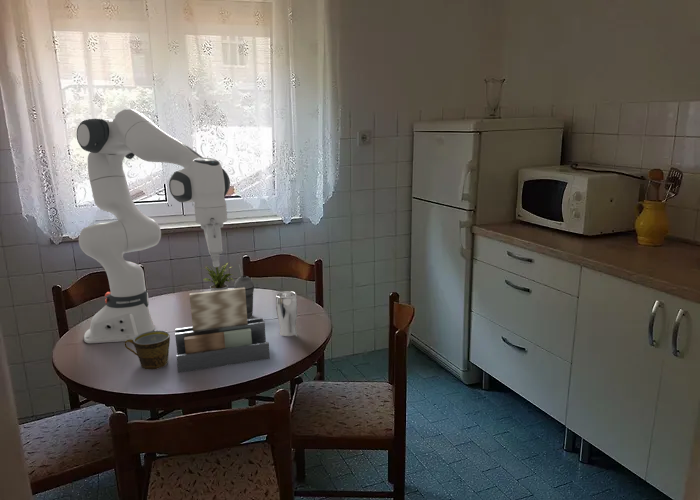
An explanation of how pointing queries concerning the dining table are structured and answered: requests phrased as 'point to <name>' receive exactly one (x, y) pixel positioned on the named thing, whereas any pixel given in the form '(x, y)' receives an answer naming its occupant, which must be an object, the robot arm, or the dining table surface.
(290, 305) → the silver metal cylinder
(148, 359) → the ceramic cup
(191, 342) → the walnut offcut
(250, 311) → the beverage cup
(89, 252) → the robot arm
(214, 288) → the house plant
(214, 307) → the beige brown zigzag panel
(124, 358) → the dining table surface
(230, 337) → the sage offcut
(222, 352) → the offcut rack
